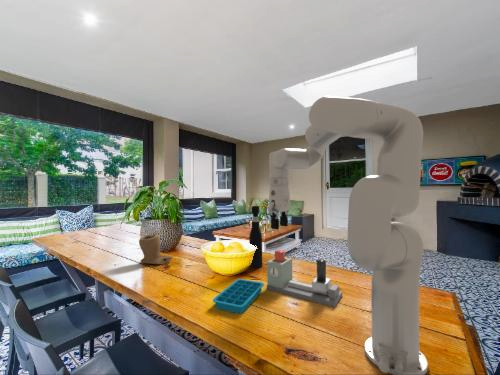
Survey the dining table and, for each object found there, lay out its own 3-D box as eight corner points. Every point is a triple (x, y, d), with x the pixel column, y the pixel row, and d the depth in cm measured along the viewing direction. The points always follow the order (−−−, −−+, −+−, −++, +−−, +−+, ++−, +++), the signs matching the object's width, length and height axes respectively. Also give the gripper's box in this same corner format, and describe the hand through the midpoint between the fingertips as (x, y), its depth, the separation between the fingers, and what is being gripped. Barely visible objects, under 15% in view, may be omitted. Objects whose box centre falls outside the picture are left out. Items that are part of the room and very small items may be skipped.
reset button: (282, 268, 94) (281, 253, 94) (273, 266, 96) (272, 251, 96) (286, 265, 97) (286, 250, 97) (277, 264, 100) (277, 249, 100)
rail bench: (334, 307, 80) (334, 275, 80) (266, 289, 94) (266, 262, 94) (342, 295, 88) (342, 266, 88) (278, 280, 103) (278, 255, 103)
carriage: (325, 296, 84) (325, 264, 83) (311, 292, 86) (311, 261, 86) (330, 289, 88) (330, 259, 88) (317, 286, 91) (317, 257, 91)
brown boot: (134, 265, 125) (133, 236, 125) (151, 258, 136) (151, 231, 136) (157, 268, 120) (156, 238, 119) (173, 261, 131) (172, 233, 130)
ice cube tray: (265, 290, 94) (264, 283, 94) (242, 317, 75) (242, 307, 75) (238, 285, 99) (238, 278, 99) (211, 309, 80) (210, 300, 80)
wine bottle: (261, 268, 118) (260, 206, 117) (248, 267, 119) (247, 206, 118) (263, 264, 124) (262, 205, 123) (251, 263, 125) (250, 205, 125)
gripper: (277, 182, 87) (277, 232, 87) (296, 182, 101) (297, 225, 102) (259, 182, 91) (260, 230, 92) (280, 182, 106) (281, 223, 106)
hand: (279, 227), depth 97 cm, fingers open, 6 cm apart
